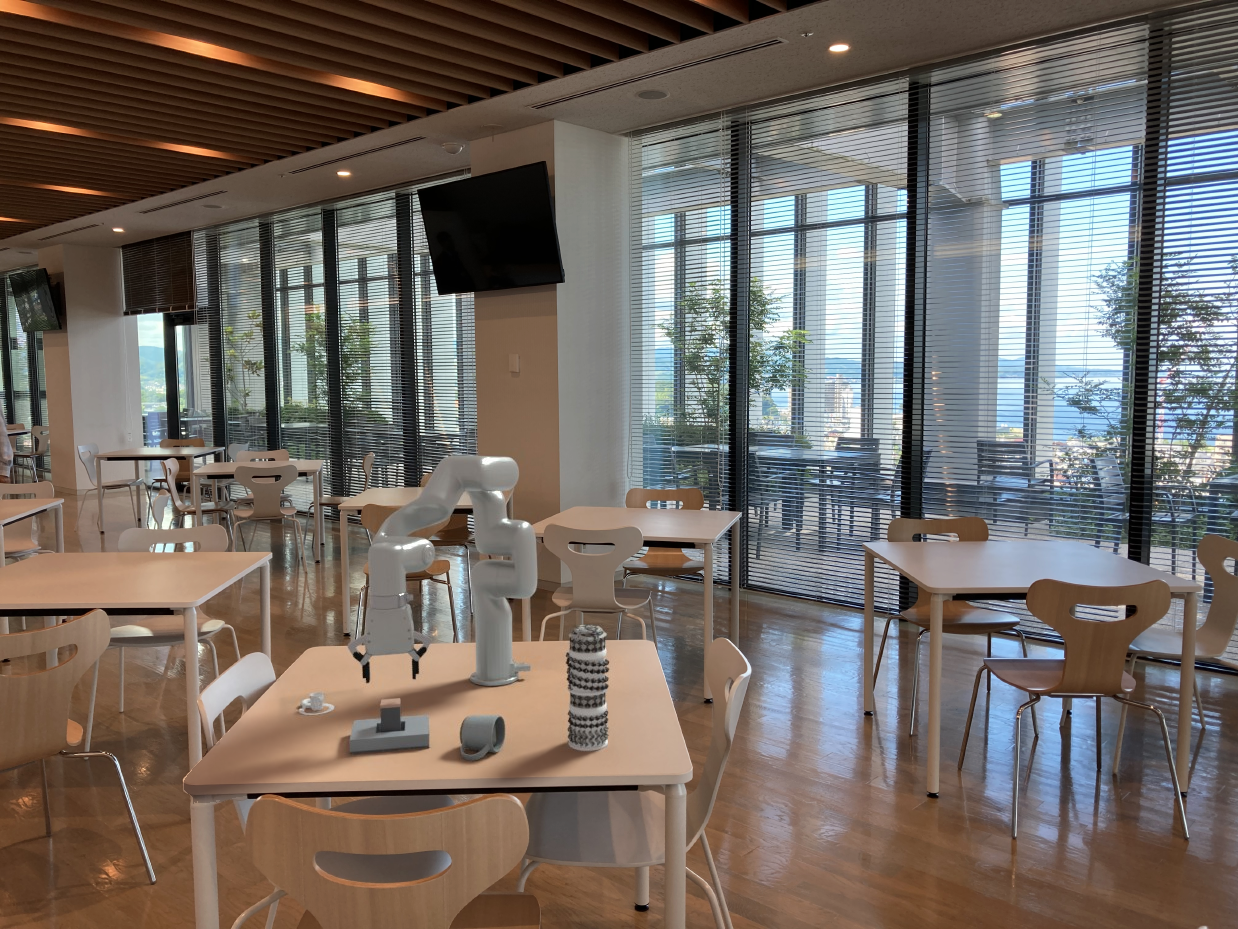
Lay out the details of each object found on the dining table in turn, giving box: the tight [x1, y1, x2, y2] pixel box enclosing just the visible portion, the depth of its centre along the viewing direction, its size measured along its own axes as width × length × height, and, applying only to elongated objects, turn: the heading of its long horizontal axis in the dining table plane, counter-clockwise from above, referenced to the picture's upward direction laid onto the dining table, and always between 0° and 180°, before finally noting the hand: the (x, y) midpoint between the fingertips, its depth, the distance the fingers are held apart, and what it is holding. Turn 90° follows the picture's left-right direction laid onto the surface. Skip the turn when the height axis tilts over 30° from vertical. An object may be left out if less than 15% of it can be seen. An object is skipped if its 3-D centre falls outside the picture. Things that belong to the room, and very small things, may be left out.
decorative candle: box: [565, 624, 610, 752], centre depth 190 cm, size 9×9×25 cm
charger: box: [380, 697, 402, 733], centre depth 193 cm, size 4×4×8 cm
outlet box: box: [349, 714, 430, 755], centre depth 193 cm, size 16×12×3 cm
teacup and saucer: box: [298, 691, 335, 716], centre depth 214 cm, size 9×8×4 cm
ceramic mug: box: [459, 714, 506, 762], centre depth 186 cm, size 10×8×7 cm
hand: (391, 679), depth 193 cm, fingers open, 9 cm apart
